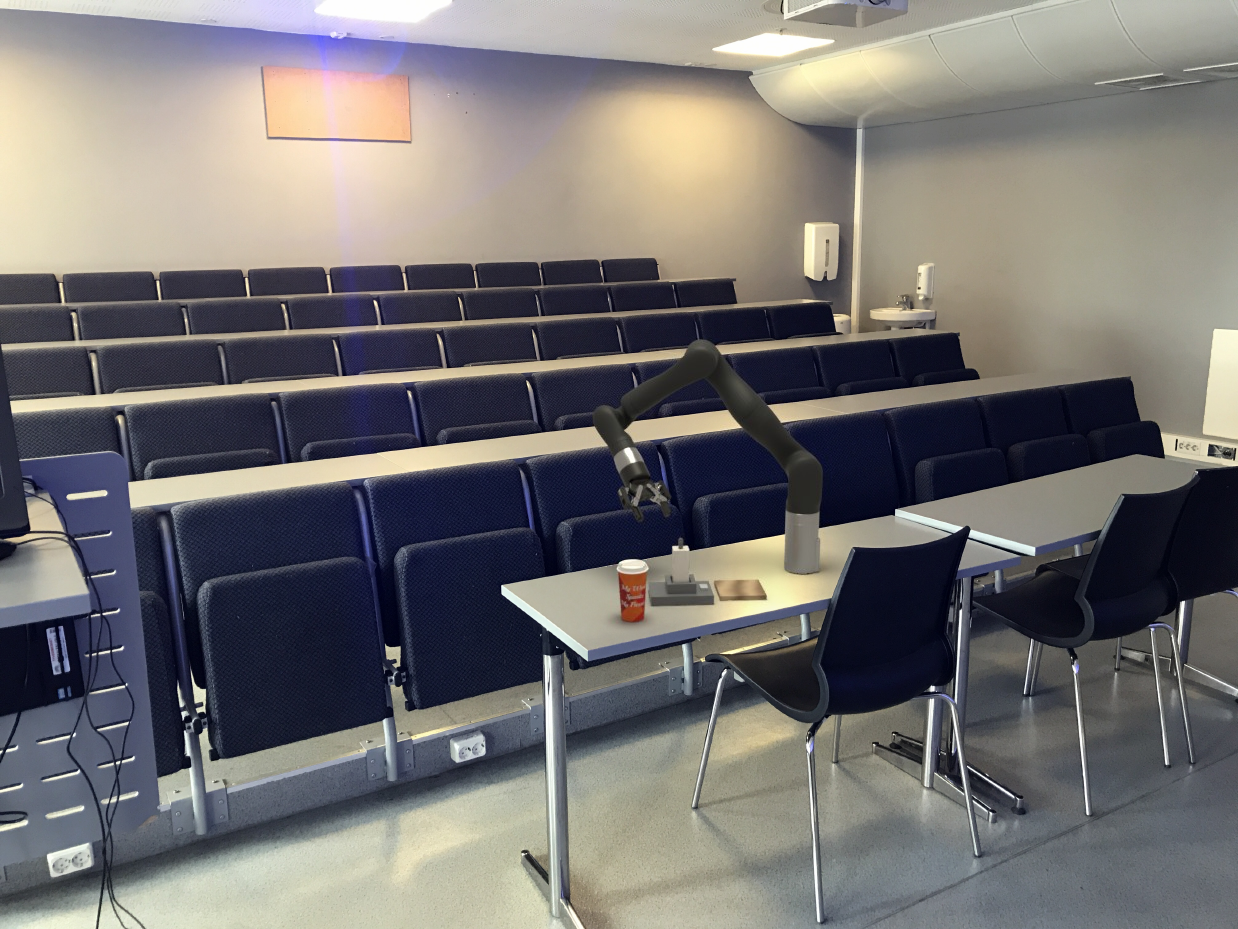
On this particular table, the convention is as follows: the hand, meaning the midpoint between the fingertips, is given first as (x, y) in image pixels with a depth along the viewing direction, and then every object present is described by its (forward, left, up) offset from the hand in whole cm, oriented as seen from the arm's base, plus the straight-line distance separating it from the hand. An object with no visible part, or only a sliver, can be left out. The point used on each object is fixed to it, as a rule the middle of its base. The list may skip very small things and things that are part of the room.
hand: (655, 518), depth 248 cm
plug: (-6, +10, -16) cm, 20 cm away
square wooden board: (-22, +7, -19) cm, 30 cm away
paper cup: (+7, +23, -19) cm, 31 cm away
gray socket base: (-6, +10, -19) cm, 22 cm away
